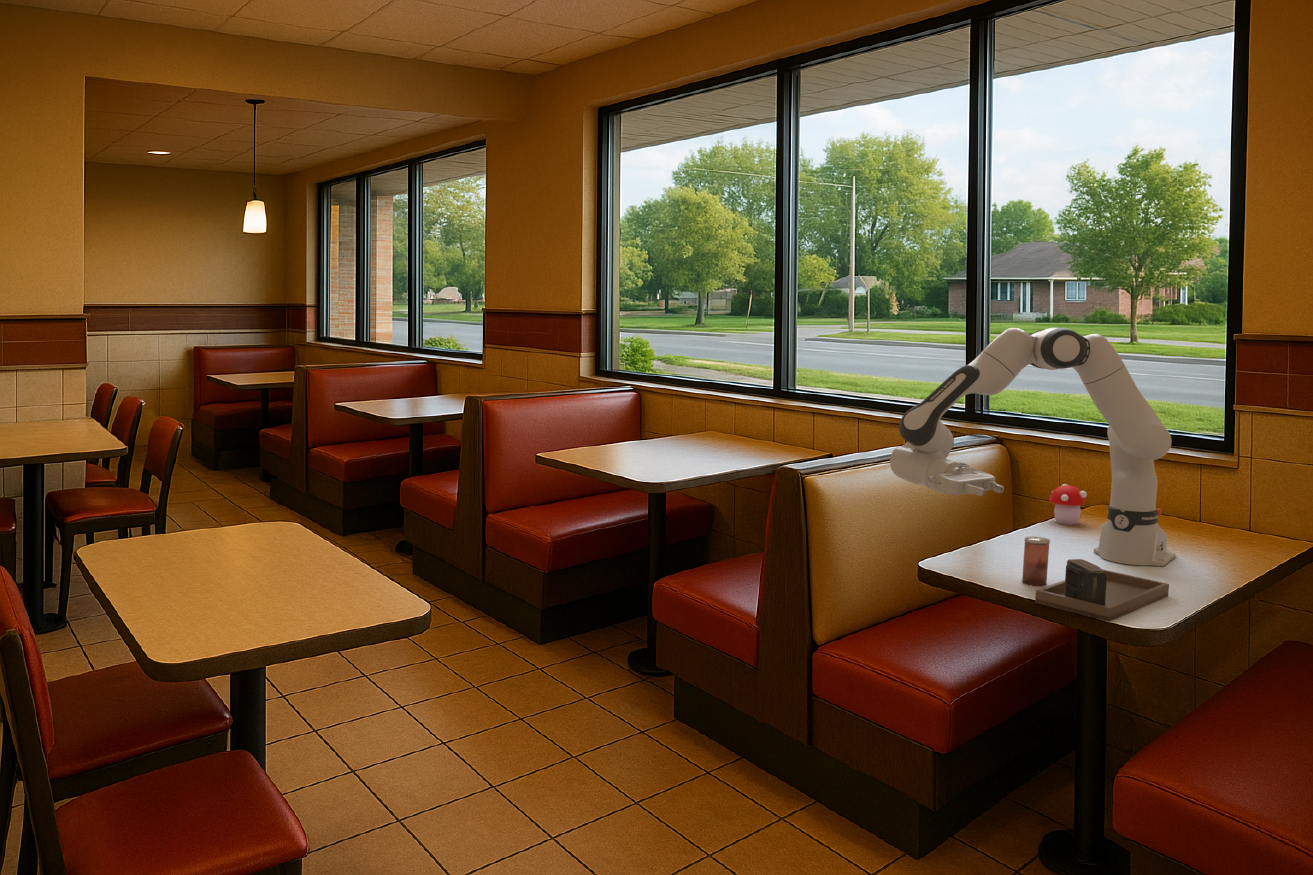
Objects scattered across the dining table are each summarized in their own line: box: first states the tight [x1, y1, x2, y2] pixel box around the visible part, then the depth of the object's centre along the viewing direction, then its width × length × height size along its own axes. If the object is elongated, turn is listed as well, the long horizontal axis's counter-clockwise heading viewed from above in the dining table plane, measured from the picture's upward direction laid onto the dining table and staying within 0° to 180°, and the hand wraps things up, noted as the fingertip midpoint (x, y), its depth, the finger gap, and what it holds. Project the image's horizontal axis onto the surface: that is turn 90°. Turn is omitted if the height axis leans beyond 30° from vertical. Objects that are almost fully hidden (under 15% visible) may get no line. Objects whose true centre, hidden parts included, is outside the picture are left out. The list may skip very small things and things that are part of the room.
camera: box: [1064, 558, 1107, 606], centre depth 220 cm, size 11×6×10 cm, turn 3°
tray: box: [1034, 569, 1170, 623], centre depth 226 cm, size 30×17×3 cm, turn 130°
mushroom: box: [1048, 483, 1088, 526], centre depth 306 cm, size 11×11×12 cm
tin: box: [1021, 535, 1051, 587], centre depth 238 cm, size 6×6×11 cm
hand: (993, 491), depth 245 cm, fingers open, 8 cm apart
